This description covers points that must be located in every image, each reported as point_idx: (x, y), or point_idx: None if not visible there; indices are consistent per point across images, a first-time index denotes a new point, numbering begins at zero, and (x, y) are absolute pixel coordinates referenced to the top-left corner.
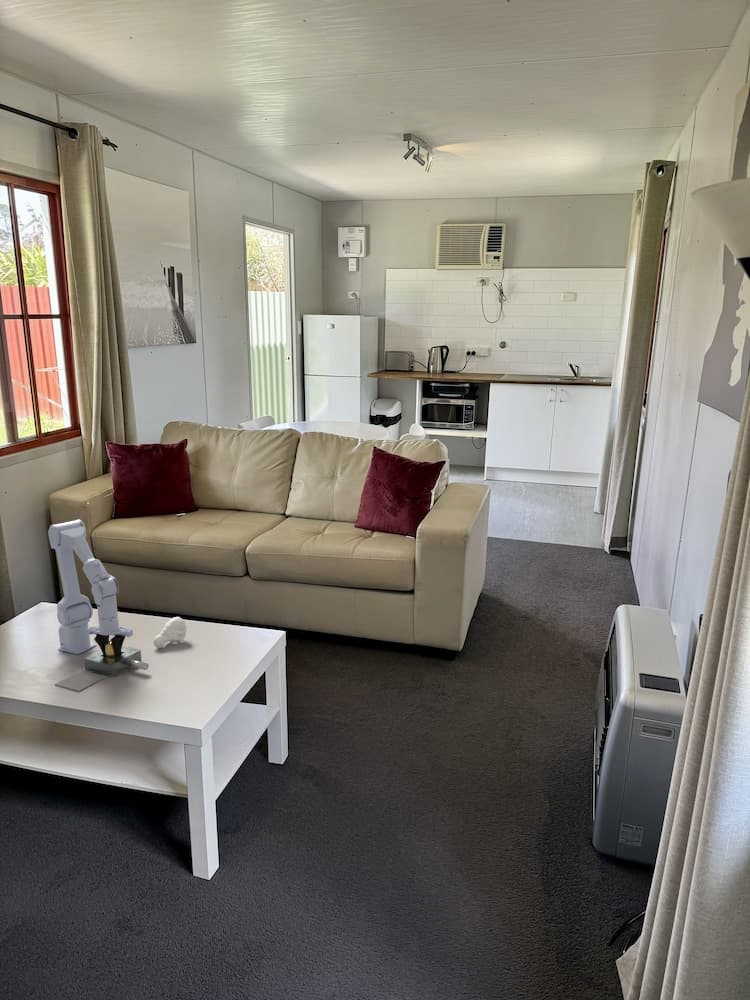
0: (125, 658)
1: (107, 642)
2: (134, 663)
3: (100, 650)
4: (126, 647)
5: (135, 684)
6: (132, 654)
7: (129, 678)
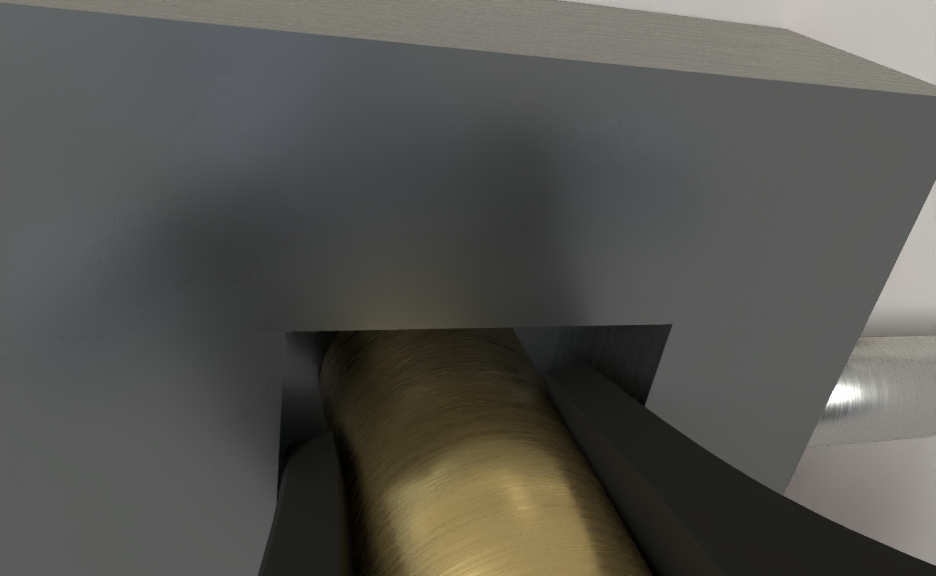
0: (790, 463)
1: None
2: (926, 436)
3: (16, 494)
4: (577, 104)
5: (906, 503)
6: (861, 320)
7: (805, 458)
